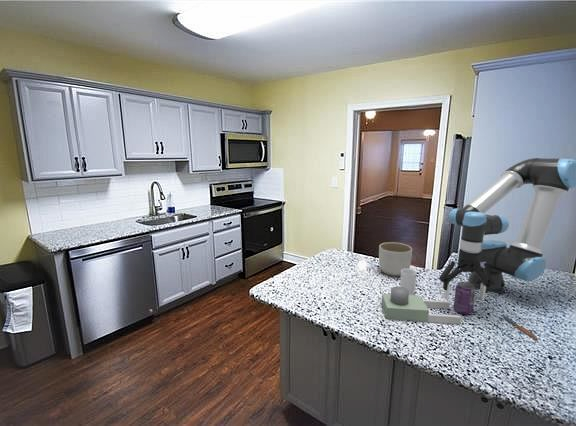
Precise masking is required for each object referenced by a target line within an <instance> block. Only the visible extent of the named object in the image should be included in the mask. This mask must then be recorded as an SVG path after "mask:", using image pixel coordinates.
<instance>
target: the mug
mask: <svg viewBox="0 0 576 426" xmlns="http://www.w3.org/2000/svg"><path fill="white" fill-rule="evenodd" d="M417 273H418V272H417V271H416V270H414V269H412V268H410V269H402V270H401V276H400V286H399V287H404V288H406V289H408V290H409V295H415V291H416V283H417Z"/></svg>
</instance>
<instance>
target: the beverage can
mask: <svg viewBox="0 0 576 426" xmlns="http://www.w3.org/2000/svg"><path fill="white" fill-rule="evenodd" d="M453 299H454V300H453V310H455V311H456V312H457V313H459V314H463V315H471V314H473V313H474V307H475V299H476V288H475V286H474V285H473V284H470V283H468V281H467V282H465V281H458V282H457V284H456V286H455V292H454V298H453Z"/></svg>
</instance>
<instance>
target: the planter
mask: <svg viewBox="0 0 576 426" xmlns="http://www.w3.org/2000/svg"><path fill="white" fill-rule="evenodd" d="M412 254H413V248H412V246H410V245H409V244H405V243H402V242H395V241H393V242H392V241H390V242H383V243H380V244H379V246H378V264H379V265H378V266H379V268H380V270H381V272H383V273H384V274H386V275H388V276H392V277H401V270H402V269H411V263H412V257H413V256H412Z"/></svg>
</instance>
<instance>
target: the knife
mask: <svg viewBox="0 0 576 426" xmlns="http://www.w3.org/2000/svg"><path fill="white" fill-rule="evenodd" d="M502 317H503V318H504V319H505V320H506V321H507V322H508V323H510V324H511V325H512V326H513V328H516V329H517V330H519V331H520V332H522V333H523V334H525V335H526V336H528V337H529V338H531V339H533V341H534V342H537V341H538V339H539V338H538V337H537V336H536V335H535V334H534V333H532V332H531V331H530V330H528V329H527V328H525V327H523V326H522V325H519V324H517V323H516V322H515V321H514V320H512V319H510V318H509V317H507V315H504V314H502Z"/></svg>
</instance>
